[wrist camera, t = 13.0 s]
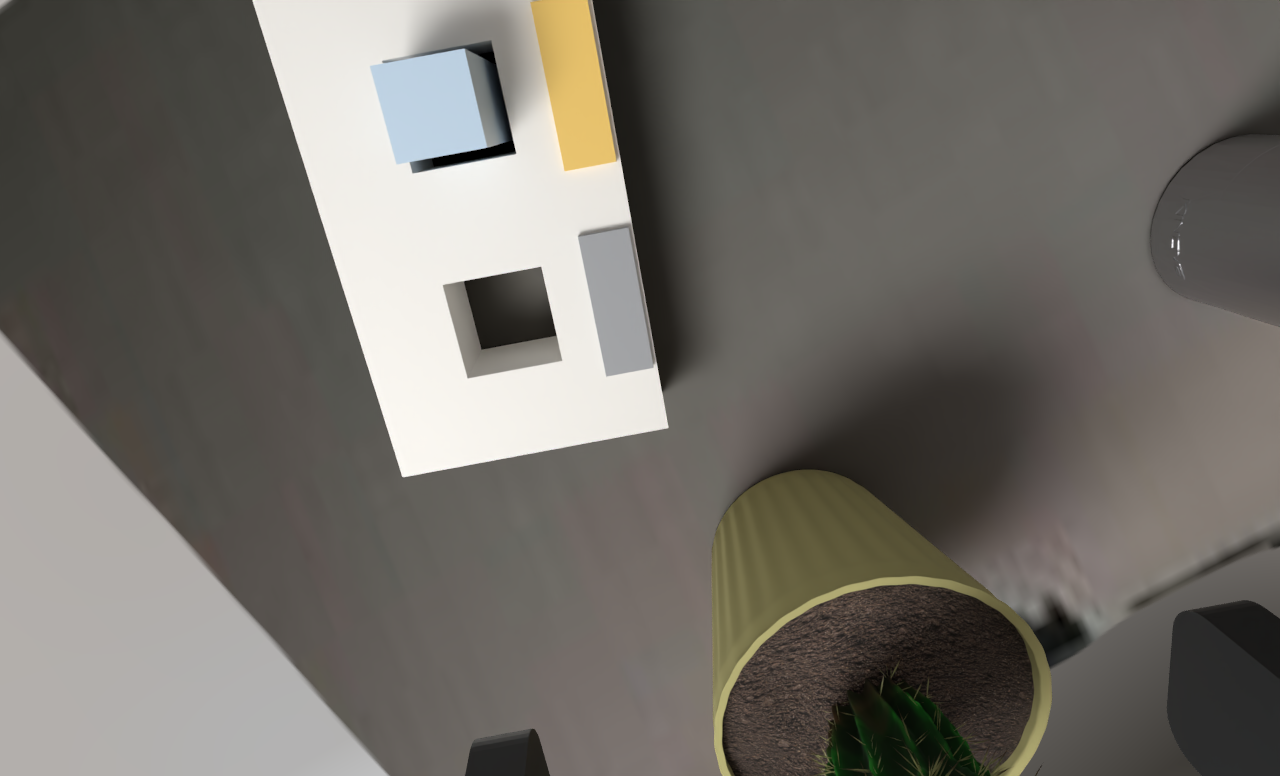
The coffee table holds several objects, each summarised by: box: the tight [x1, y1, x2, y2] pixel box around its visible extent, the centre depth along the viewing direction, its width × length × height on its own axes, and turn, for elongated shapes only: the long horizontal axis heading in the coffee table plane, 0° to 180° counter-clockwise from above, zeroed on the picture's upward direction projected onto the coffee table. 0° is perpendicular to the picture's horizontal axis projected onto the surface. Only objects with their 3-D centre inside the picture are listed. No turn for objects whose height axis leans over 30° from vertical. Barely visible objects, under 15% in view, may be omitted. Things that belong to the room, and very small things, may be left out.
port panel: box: [253, 0, 668, 477], centre depth 38 cm, size 14×24×5 cm, turn 10°
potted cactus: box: [712, 470, 1052, 776], centre depth 34 cm, size 15×15×30 cm
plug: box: [370, 49, 513, 164], centre depth 34 cm, size 4×4×10 cm
